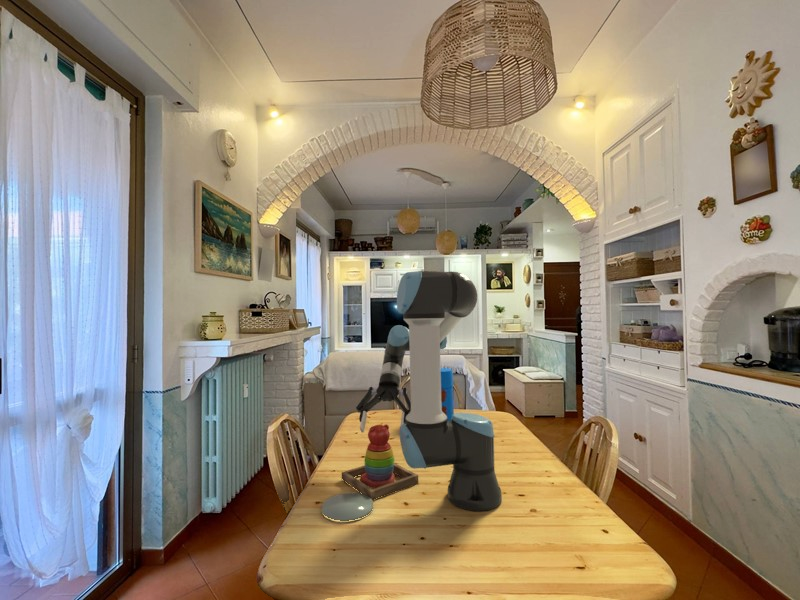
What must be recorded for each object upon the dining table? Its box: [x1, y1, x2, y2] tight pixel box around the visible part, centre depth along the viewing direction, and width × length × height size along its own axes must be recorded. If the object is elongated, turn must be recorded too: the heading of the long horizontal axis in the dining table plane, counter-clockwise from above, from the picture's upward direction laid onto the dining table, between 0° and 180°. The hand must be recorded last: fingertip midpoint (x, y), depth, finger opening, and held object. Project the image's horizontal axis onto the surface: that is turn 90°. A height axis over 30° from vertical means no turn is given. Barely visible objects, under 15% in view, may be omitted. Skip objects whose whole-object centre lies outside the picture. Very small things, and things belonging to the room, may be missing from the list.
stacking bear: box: [359, 424, 396, 489], centre depth 121 cm, size 11×10×18 cm
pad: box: [321, 492, 374, 521], centre depth 105 cm, size 14×14×1 cm
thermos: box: [441, 367, 455, 421], centre depth 185 cm, size 11×11×25 cm
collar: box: [341, 462, 419, 501], centre depth 121 cm, size 17×17×2 cm
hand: (381, 431), depth 127 cm, fingers open, 13 cm apart
